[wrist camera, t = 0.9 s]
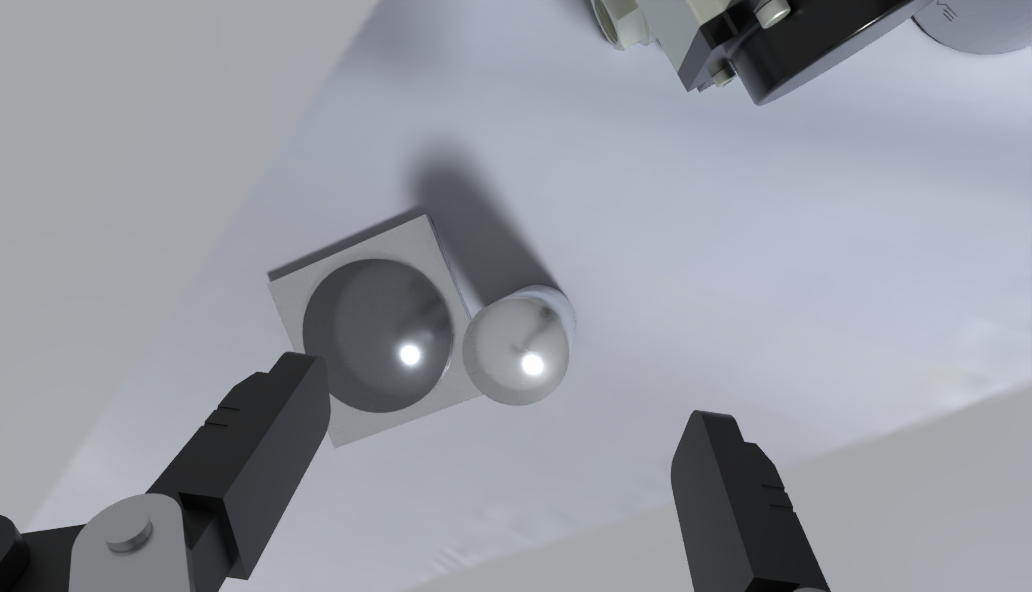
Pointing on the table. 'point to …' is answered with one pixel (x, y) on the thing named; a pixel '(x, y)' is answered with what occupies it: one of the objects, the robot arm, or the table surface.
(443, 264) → the flange
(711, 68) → the ball valve
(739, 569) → the robot arm
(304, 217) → the table surface
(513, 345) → the grey cylinder
